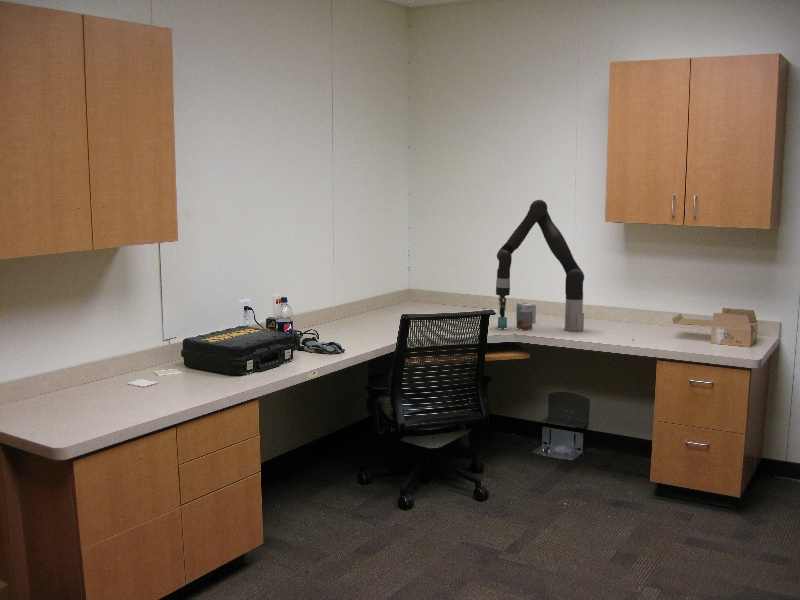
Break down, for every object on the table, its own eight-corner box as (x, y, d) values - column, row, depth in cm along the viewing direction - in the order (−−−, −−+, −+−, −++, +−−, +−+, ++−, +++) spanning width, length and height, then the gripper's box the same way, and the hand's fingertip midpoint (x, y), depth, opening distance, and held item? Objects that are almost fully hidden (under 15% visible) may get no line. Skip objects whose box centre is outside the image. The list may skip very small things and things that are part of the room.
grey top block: (532, 320, 441) (532, 311, 441) (525, 321, 437) (525, 312, 437) (523, 318, 446) (524, 309, 445) (516, 319, 442) (517, 310, 441)
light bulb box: (515, 321, 467) (516, 302, 465) (525, 320, 469) (526, 301, 468) (526, 324, 457) (526, 305, 455) (536, 323, 460) (536, 304, 458)
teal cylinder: (508, 328, 444) (508, 317, 443) (502, 329, 440) (502, 318, 439) (501, 327, 447) (502, 316, 446) (495, 328, 444) (495, 317, 443)
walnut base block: (532, 329, 442) (532, 320, 441) (525, 330, 438) (525, 321, 437) (523, 327, 447) (523, 318, 446) (516, 328, 443) (516, 319, 442)
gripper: (510, 288, 433) (509, 318, 436) (509, 284, 447) (507, 313, 450) (496, 288, 434) (495, 317, 436) (495, 284, 448) (494, 313, 450)
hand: (501, 315), depth 443 cm, fingers open, 8 cm apart
